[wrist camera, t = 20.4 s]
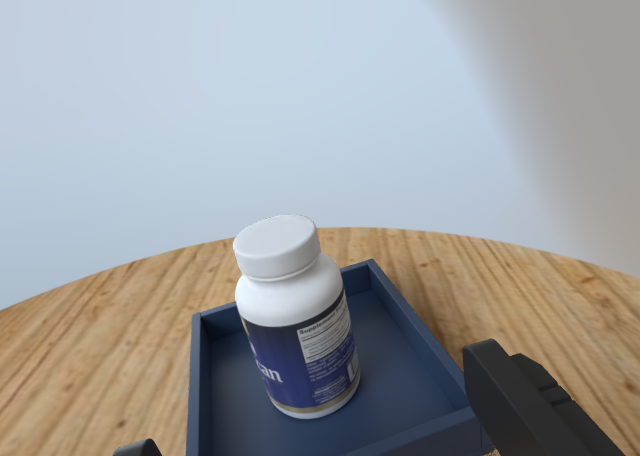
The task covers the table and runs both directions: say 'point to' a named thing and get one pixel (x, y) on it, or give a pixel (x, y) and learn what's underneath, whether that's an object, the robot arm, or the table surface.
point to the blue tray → (364, 406)
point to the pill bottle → (296, 317)
